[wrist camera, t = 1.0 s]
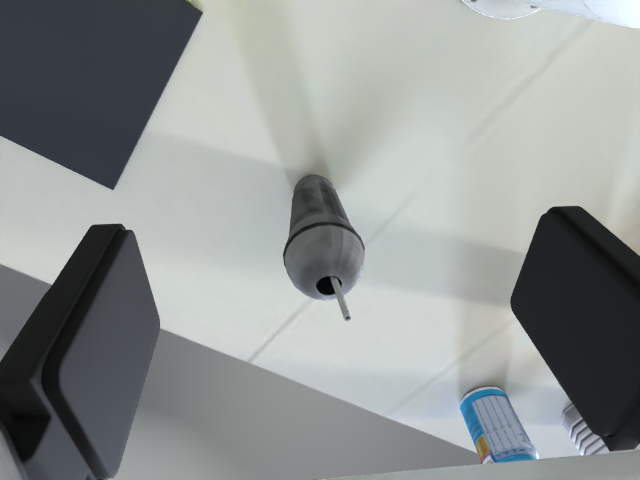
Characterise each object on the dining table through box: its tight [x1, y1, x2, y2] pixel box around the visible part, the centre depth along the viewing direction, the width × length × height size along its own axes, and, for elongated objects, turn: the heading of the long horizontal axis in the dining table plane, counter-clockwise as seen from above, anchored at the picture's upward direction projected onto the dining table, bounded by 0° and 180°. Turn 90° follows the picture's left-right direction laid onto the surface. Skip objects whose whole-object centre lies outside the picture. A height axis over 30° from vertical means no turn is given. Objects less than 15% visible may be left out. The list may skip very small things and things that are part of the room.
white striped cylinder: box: [561, 404, 640, 455], centre depth 73 cm, size 11×11×12 cm
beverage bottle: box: [460, 387, 539, 464], centre depth 64 cm, size 8×8×20 cm
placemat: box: [0, 0, 203, 190], centre depth 36 cm, size 20×16×1 cm
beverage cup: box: [283, 175, 365, 321], centre depth 38 cm, size 7×7×20 cm
